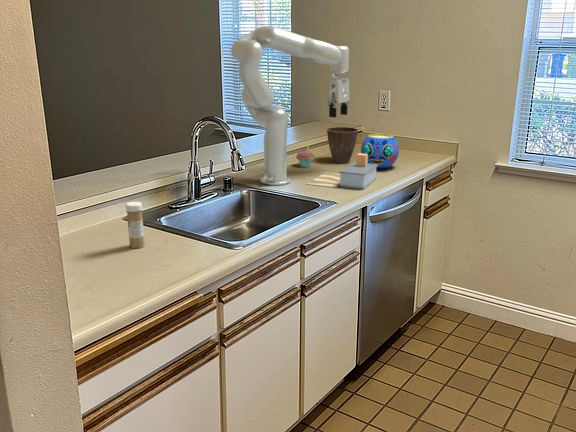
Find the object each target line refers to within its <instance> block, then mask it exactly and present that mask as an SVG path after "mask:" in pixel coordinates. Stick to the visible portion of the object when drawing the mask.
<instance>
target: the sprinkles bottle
mask: <svg viewBox="0 0 576 432" xmlns="http://www.w3.org/2000/svg"><path fill="white" fill-rule="evenodd" d="M125 209H126V215H127V216H126V218H127V226H128V227H127V229H128V231H127V232H128V238H129V247H130V248H132V249H138V248H139V249H140V248H144V247H145V237H144V236H145V232H144V220H143V213H142V212H143V211H142V210H143V205H142V202H140V201H129V202H126V203H125Z"/></svg>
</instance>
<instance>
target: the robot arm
mask: <svg viewBox="0 0 576 432" xmlns="http://www.w3.org/2000/svg"><path fill="white" fill-rule="evenodd" d="M263 49H272V50H274V51H278V52H281V53H285V54H288V55H290V56H293V57H298V58H304V59H312V60H313V61H314V62H315V63H317V64H320V65H328V66H330V84H329V96H328V97H327V105H328V110H329V112H328V113H329V114H328V116H329V118H337V108H336V107H337V105H338V104H341V105H340V115H342V116H346V115H348V107H349V106H348V105H349V102H350V96H351V95H350V81H349V59H350V58H349V57H350V56H349V55H350V50H349V47H348V46H346V45H333V44H330V43H327V42H325V41H321V40H318V39H314V38H312V37H308V36H304V35H301V34H299V33H296V32H292V31H289V30H286V29H285V28H280V27H279V26H278V27H277V26H274V25H273V26H272V25H267V26H266V25H265V26H260V27H258V28H256V29H254V30H252V31H251V32H248V33H247V34H245V35H243V36H242V37H240V38H238V39H237V40H235V41H234V43H233V44H232V46H231V50H230V52H231V57H233V59H234V60H236V61H237V62H239V65H238V77H239V80H240V82H241V84H242V87H243V88H242V90H241V100H242V102H243V105H244V106H245V108H246V110H247V112H248V113H249V114H250V116H251V118H252V119H253V120H254V122H255V124H257V125H258V126H260V127H262V128H265V132H264V135H263V136H264V137H263V175H264V176H263V177H261V178H260V183H261V184H264V185H268V186H269V185H270V186H281V185H287V184H289V183H290V182H291V178H290V177H288V176H287V173H288V172H287V165H288V163H287V157H288V156H287V148H288V147H287V137H288V134H287V133H288V127H289V121H290V120H289V115H288V113H287V111H286V110H285V109H283V108H282V107H279V106H275V105H273V103H274V99H275V98H274V94H273V92H272V90H271V88H270V87H269V85H268V83H267V82H266V81H265V78H264V76H263V74H262V72H261V69H260V63H261V60H262V58H263Z"/></svg>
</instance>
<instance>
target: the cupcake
mask: <svg viewBox="0 0 576 432" xmlns="http://www.w3.org/2000/svg"><path fill="white" fill-rule="evenodd" d="M309 148H310V142H308V143H307V147H306V150H301V151H299V152H298V153H297V154H296V156H295V158H296V160H298V163H299V165H300V167H301V168H302V167H303V168H309V167H311V166H312V163H313V160H314V159H315V154H314V153H313V152H312V151H309Z"/></svg>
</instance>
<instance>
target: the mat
mask: <svg viewBox="0 0 576 432" xmlns="http://www.w3.org/2000/svg"><path fill="white" fill-rule="evenodd" d="M306 185H307V186H316V187H326V188H335V189H336V188H338V187H340V173H333V172H327V171H326V172H325V171H324V173H322V174H320V175H319V176H317V177H315V178H313V179H312V180H311V181H309V182H307V183H306Z"/></svg>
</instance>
